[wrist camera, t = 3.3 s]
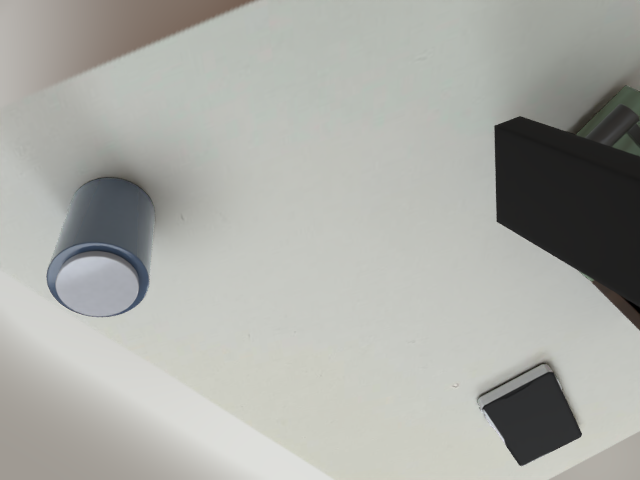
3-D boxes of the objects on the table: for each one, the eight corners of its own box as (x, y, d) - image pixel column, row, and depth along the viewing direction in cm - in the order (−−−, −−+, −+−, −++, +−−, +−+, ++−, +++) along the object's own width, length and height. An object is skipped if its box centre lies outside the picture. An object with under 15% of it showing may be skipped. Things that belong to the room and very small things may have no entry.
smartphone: (519, 468, 61) (479, 408, 52) (514, 458, 62) (473, 398, 53) (584, 435, 59) (553, 369, 51) (577, 426, 60) (546, 359, 52)
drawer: (473, 171, 36) (543, 244, 29) (594, 44, 33) (707, 92, 26) (594, 270, 44) (672, 345, 37) (701, 177, 41) (809, 241, 34)
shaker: (55, 223, 33) (26, 302, 27) (94, 162, 31) (72, 231, 25) (130, 256, 35) (119, 335, 29) (170, 202, 34) (166, 273, 28)
